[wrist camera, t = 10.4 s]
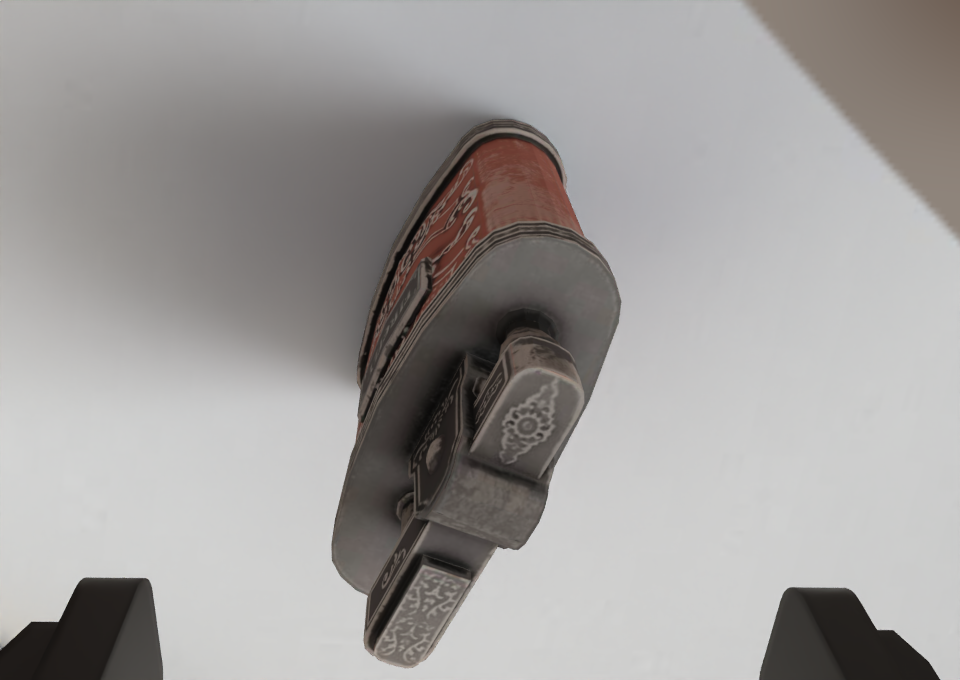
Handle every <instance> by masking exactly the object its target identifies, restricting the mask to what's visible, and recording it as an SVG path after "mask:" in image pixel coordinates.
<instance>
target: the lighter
mask: <svg viewBox="0 0 960 680" xmlns="http://www.w3.org/2000/svg"><path fill="white" fill-rule="evenodd" d="M566 182H567V177H566V174H565V170H564V167H563V164H562V161H561V158H560V156H559V154H558V152H557V150H556V149H555V147H554V146H553V145H552V143H551V142H550V141H549V139H548V138H547V137H546V136H545V135H544V134H542V133H541V132H539V131H538V130H537V129H535V128H534V127H532V126H531V125H528V124H525V123H521V122H518V121H515V120H491V121H488V122H485V123H483V124H480V125H477V126H475V127H474V128H473V129H472V130H470V131H469V132H468V133H467V134H466V135H465V136H464V137H463V138H462V139H461V140H460V142H459V143H458V144H457V146H456V147H455V148H454V150H453V151H452V152H451V154H450V155H449V156H448V158H447V159H446V161H445V162H444V163H443V165H442V166H441V167H440V169H439V170H438V171H437V173H436V174H435V175H434V177H433V178H432V179H431V181H430V182H429V183H428V185H427V186H426V188H425V189H424V191H423V192H422V194H421V196H420V198H419V199H418V201H417V203H416V205H415V207H414V208H413V210H412V212H411V214H410V215H409V217H408V219H407V221H406V222H405V224H404V226H403V228H402V230H401V231H400V233H399V235H398V237H397V238H396V240H395V242H394V244H393V246H392V249H391V251H390V254H389V256H388V259H387V262H386V264H385V267H384V270H383V272H382V275H381V277H380V280H379V283H378V285H377V288H376V291H375V293H374V296H373V299H372V301H371V306H370V310H369V314H368V319H367V323H366V327H365V331H364V336H363V340H362V344H361V348H360V353H359V359H358V366H357V383H358V385H359V388H360V390H361V393H360V400H359V408H358V415H357V416H358V418H359V420H358V428H357V435H356V443H355V446H354V448H353V451H352V453H351V456H350V460H349V464H348V469H347V473H346V477H345V481H344V485H343V489H342V493H341V497H340V501H339V505H338V510H337V514H336V518H335V524H334V531H333V538H332V561H333V563H334V565H335V567H336V569H337V571H338V573H339V574H340V576H341V577H342V578H343V579H344V580H345V581H346V582H347V583H349V584H350V585H351V586H352V587H353V588H354V589H356V590H357V591H359V592H361V593H364V594H366V595H368V598H367V606H366V618H365V630H364V646H365V649H366V650H367V651H368V652H369V653H370V654H371V655H373V656H375V657H376V658H377V659H378V660H380V661H383V662H385V663H387V664H391V665H394V666H397V667H403V668H413V667H415V666H417V665H418V664H419V663H420V662H422V661H424V660H426V659H427V657H428V656H429V655H430V654H431V653H432V652H433V650H434V648H435V647H436V645H437V644H438V642H439V640H440V639H441V637H442V635H443V634H444V632H445V631H446V629H447V627H448V626H449V624H450V623H451V621H452V619H453V618H454V616H455V615H456V613H457V611H458V610H459V608H460V607H461V605H462V603H463V602H464V600H465V598H466V597H467V595H468V594H469V592H470V590H471V589H472V587H473V586H474V584H475V582H476V581H477V579H478V578H479V576H480V574H481V573H482V571H483V569H484V568H485V566H486V565H487V563H488V561H489V560H490V558H491V557H492V555H493V553H494V552H495V550H496V549H497V547H500V548H503V549H506V548H510V549H513V550H518V549H520V548H521V547H522V546H523V545H525V543H526V542H527V540H528V539H529V537H530V536H531V534H532V533H533V531H534V529H535V528H536V526H537V525H538V523H539V521H540V518H541V516H542V513H543V511H544V508H545V505H546V501H547V496H548V488H549V484H550V481H551V478H552V474H553V471H554V467H555V465H556V463H557V461H558V459H559V457H560V455H561V453H562V452H563V450H564V448H565V446H566V444H567V442H568V440H569V438H570V436H571V434H572V433H573V431H574V429H575V427H576V425H577V423H578V421H579V419H580V417H581V415H582V414H583V412H584V410H585V408H586V406H587V404H588V402H589V400H590V398H591V395H592V392H593V390H594V387H595V384H596V381H597V379H598V376H599V373H600V371H601V368H602V365H603V363H604V360H605V357H606V355H607V352H608V349H609V347H610V344H611V341H612V339H613V336H614V333H615V331H616V328H617V325H618V323H619V315H620V308H621V299H620V295H619V292H618V288H617V284H616V281H615V278H614V276H613V274H612V271H611V269H610V267H609V265H608V263H607V261H606V260H605V258H604V257H603V256H602V254H601V253H600V252H599V250H598V249H597V248H596V247H595V245H594V244H593V243H592V242H591V241H590V240H588V239H586V238H585V237H584V234H583V232H582V230H581V227H580V225H579V222H578V220H577V218H576V215H575V213H574V211H573V208H572V206H571V203H570V201H569V199H568V196H567V194H566Z"/></svg>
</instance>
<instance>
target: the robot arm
mask: <svg viewBox="0 0 960 680" xmlns="http://www.w3.org/2000/svg"><path fill="white" fill-rule="evenodd" d="M0 680H163V665H162V657H161V650H160V643H159V635H158V628H157V621H156V614H155V606H154V599H153V592H152V587H151V584H150V581H149V580H148V579H146V578H83V579H82V580H81V581H80V582H79V583H78V585H77V586H76V588H75V590H74V592H73V594H72V596H71V598H70V600H69V602H68V604H67V606H66V609H65V611H64V613H63V615H62V617H61V619H60V621H59V622H31V623H30V624H29V625H28V626H27V627H25V628H24V629H23V630H22V631H21V632H20V633H19V634H18V635H17V636H16V637H15V638H13V639H12V640H11V641H10V642H9V643H8V644H7V645H6V646H5V647H4V648H3V649H2V650H0ZM759 680H940V679H939V677H938V676H937V674H936V672H935V671H934V669H933V668H932V666H931V665H930V663H929V662H928V661H927V660H926V659H925V658H924V657H923V656H921V655H920V654H919V653H918V652H917V651H916V650H915V649H914V648H912V647H911V646H910V645H909V644H908V643H907V642H906V641H905V640H903V639H902V638H901V637H900V636H899V635H898V634H897V633H896V632H895V631H893V630H877V629H876V628H875V626H874V624H873V623H872V621H871V619H870V618H869V616H868V614H867V613H866V611H865V609H864V607H863V606H862V604H861V602H860V601H859V599H858V598H857V596H856V595H855V594H854V593H853V592H852V591H851V590H849V589H847V588H796V587H792V588H788V589H787V590H786V591H785V592H784V594H783V596H782V598H781V601H780V605H779V608H778V612H777V615H776V619H775V622H774V626H773V629H772V632H771V636H770V639H769V643H768V646H767V650H766V653H765V657H764V660H763V664H762V667H761V671H760V678H759Z"/></svg>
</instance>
